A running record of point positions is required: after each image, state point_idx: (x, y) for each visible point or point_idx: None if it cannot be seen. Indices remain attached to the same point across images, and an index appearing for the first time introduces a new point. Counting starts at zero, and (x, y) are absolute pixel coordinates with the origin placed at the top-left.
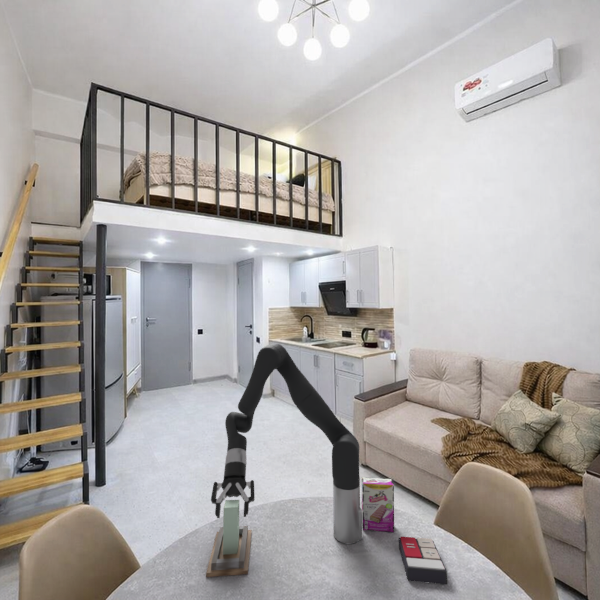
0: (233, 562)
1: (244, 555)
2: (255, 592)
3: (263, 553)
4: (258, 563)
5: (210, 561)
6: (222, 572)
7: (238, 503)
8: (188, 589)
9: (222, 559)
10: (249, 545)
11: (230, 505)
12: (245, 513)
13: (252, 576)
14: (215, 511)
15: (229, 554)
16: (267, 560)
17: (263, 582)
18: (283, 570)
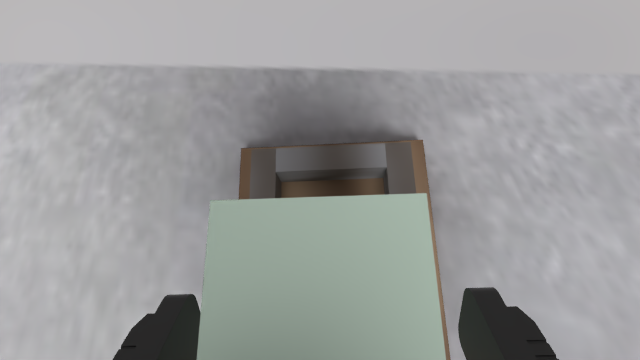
0: (301, 147)
1: (250, 187)
2: (216, 74)
3: (171, 278)
4: (199, 212)
5: None
6: (350, 144)
7: (203, 312)
8: (469, 91)
9: (359, 164)
10: None
11: (329, 255)
12: (167, 296)
13: (226, 142)
14: (541, 337)
15: None
16: (157, 229)
17: (185, 113)
18: (100, 167)
